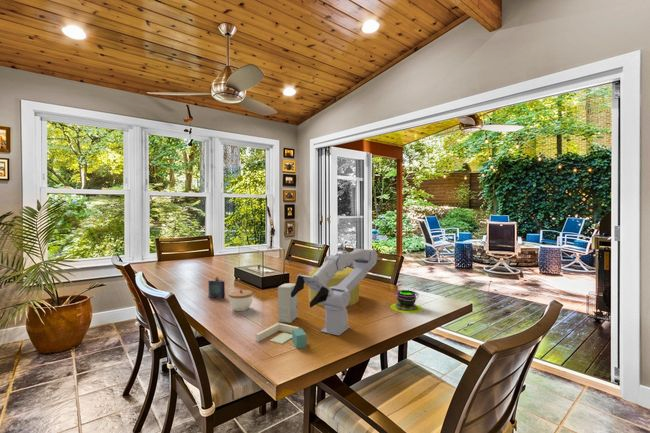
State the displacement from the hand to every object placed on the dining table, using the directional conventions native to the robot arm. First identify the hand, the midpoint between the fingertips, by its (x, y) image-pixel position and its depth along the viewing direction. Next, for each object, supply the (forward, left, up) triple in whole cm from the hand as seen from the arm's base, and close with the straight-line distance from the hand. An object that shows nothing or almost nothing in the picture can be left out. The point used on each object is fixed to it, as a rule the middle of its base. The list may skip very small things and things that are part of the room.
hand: (301, 300), depth 108 cm
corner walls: (-5, -13, -17) cm, 22 cm away
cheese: (-58, -18, -17) cm, 63 cm away
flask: (-30, -73, -17) cm, 81 cm away
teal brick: (-4, -3, -17) cm, 18 cm away
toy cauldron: (-62, +19, -17) cm, 67 cm away
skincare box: (-22, -21, -17) cm, 35 cm away
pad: (-5, -11, -17) cm, 21 cm away
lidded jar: (-22, -48, -17) cm, 56 cm away
